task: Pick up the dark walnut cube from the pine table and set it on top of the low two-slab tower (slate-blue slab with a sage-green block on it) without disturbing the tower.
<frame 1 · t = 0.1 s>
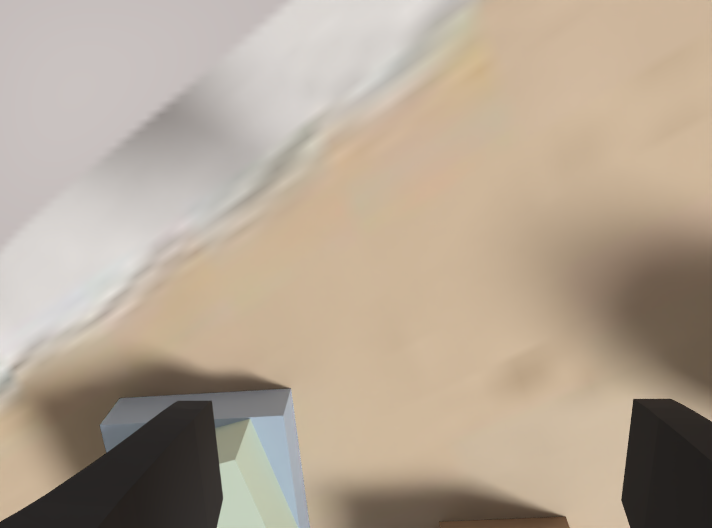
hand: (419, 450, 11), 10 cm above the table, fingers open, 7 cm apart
slate slab: (221, 458, 24), on the table, touching sage block
sage block: (208, 499, 22), point 2 cm above the table, touching slate slab
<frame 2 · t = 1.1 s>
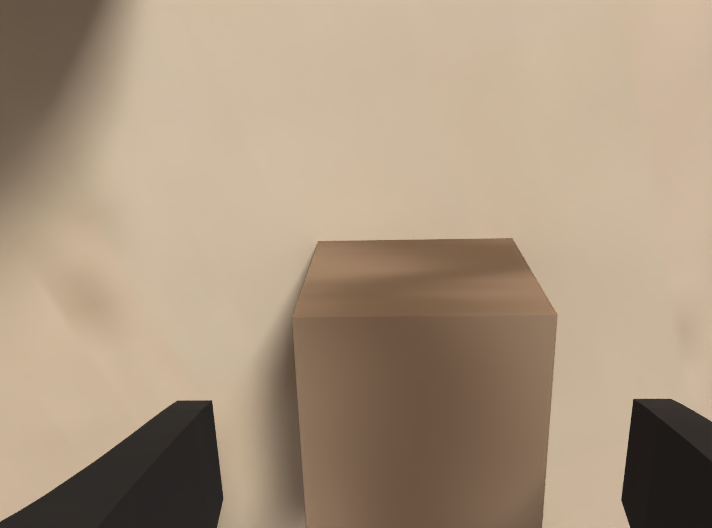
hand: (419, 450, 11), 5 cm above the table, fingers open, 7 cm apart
walnut cube: (414, 326, 16), on the table
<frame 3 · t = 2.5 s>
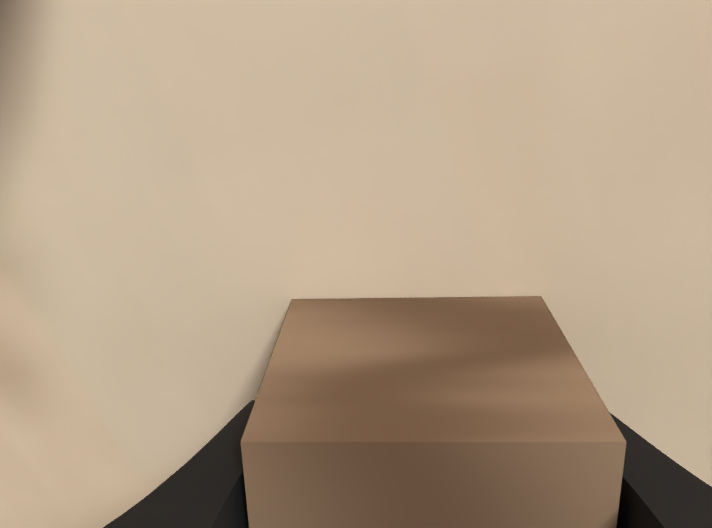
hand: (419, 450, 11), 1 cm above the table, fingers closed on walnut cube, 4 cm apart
walnut cube: (415, 406, 13), on the table, touching gripper
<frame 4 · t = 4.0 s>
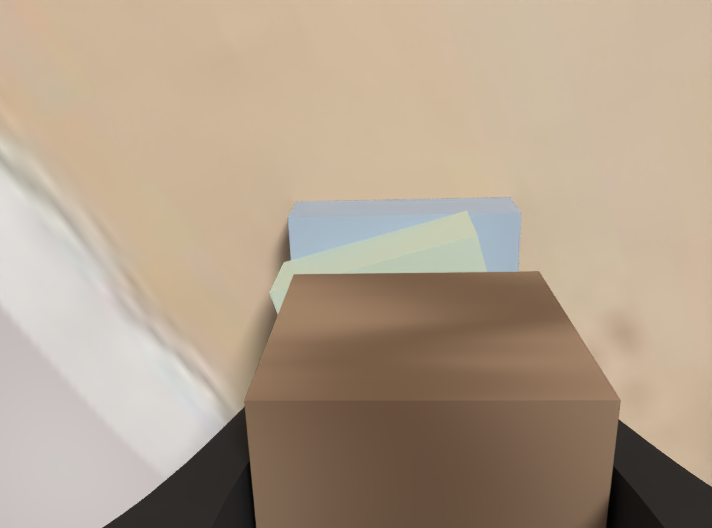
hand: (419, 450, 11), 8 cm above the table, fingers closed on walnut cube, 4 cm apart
walnut cube: (415, 381, 13), point 7 cm above the table, touching gripper
slate slab: (403, 291, 20), on the table, touching sage block
sage block: (399, 321, 18), point 2 cm above the table, touching slate slab
when the fingers open (7 cm above the table, at t = 5.3 s): walnut cube drops 1 cm, resting on sage block.
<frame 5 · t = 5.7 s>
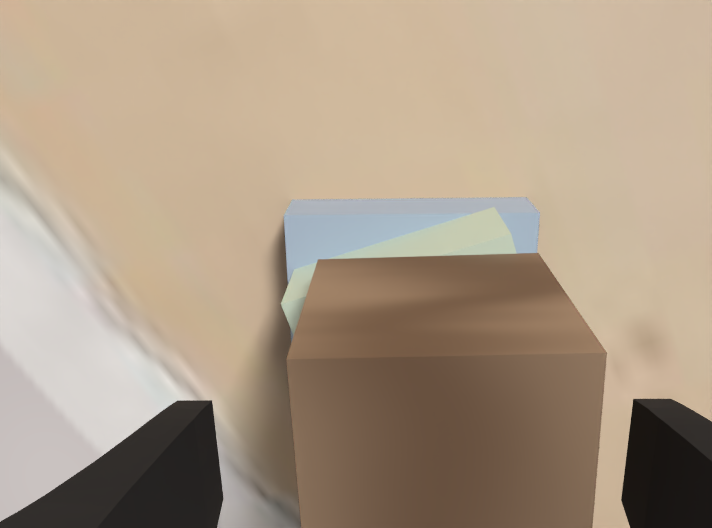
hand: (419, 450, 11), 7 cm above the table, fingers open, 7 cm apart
walnut cube: (428, 355, 14), point 4 cm above the table, touching sage block
slate slab: (407, 297, 19), on the table, touching sage block
sage block: (422, 329, 17), point 1 cm above the table, touching slate slab, walnut cube
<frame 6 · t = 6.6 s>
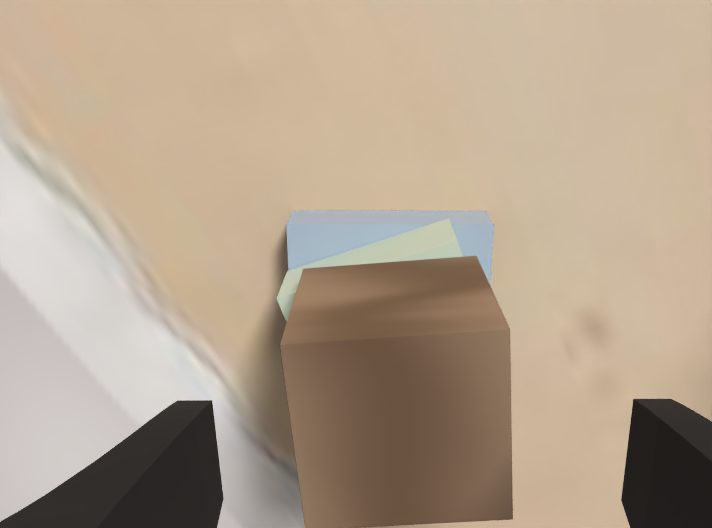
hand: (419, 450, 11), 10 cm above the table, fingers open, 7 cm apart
walnut cube: (395, 340, 18), point 4 cm above the table, touching sage block
slate slab: (388, 292, 22), on the table
sage block: (393, 319, 20), point 2 cm above the table, touching walnut cube
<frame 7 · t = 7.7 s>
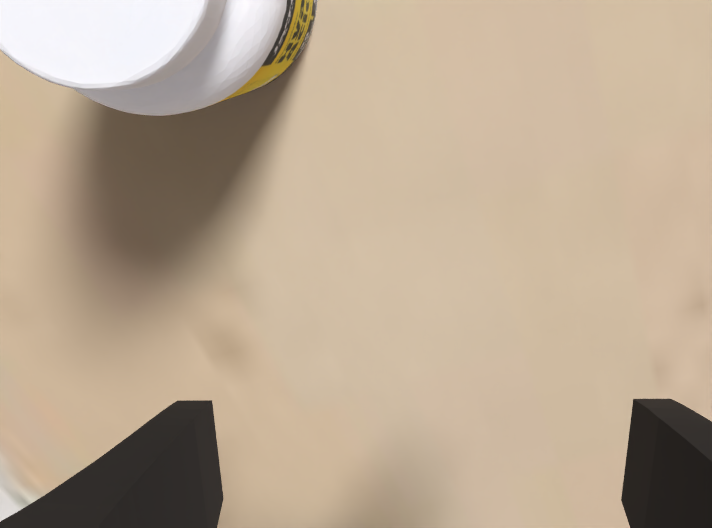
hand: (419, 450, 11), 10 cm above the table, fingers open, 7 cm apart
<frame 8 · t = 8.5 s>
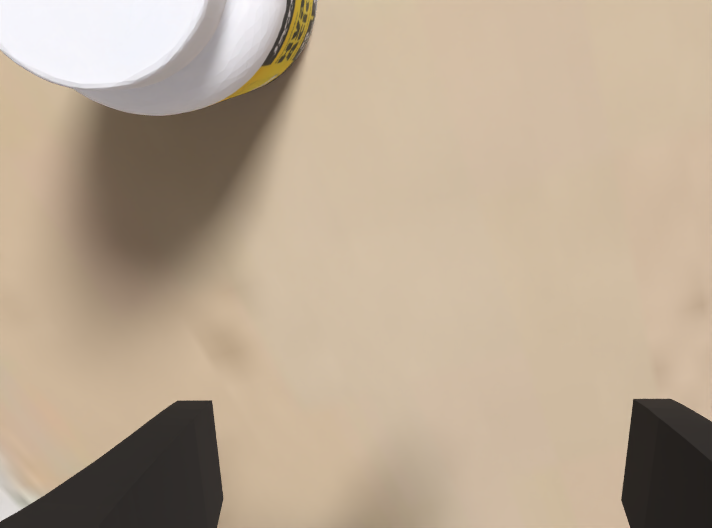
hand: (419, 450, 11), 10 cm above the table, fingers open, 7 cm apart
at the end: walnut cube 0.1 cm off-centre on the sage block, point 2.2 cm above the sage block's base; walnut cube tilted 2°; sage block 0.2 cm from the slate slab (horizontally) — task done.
